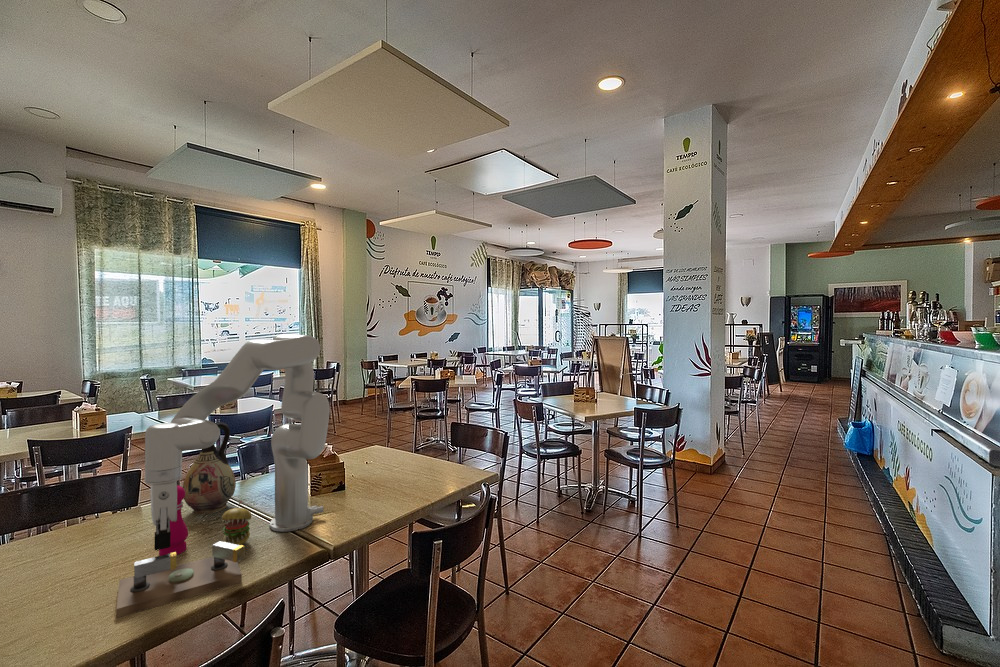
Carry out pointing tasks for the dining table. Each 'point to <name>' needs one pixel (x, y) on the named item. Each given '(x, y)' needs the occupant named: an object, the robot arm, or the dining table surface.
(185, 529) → the pepper mill
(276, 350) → the robot arm
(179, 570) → the level plate
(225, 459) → the ceramic jug
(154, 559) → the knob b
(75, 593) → the dining table surface
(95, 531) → the dining table surface
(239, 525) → the hamburger
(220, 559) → the gold-tipped grey bar
